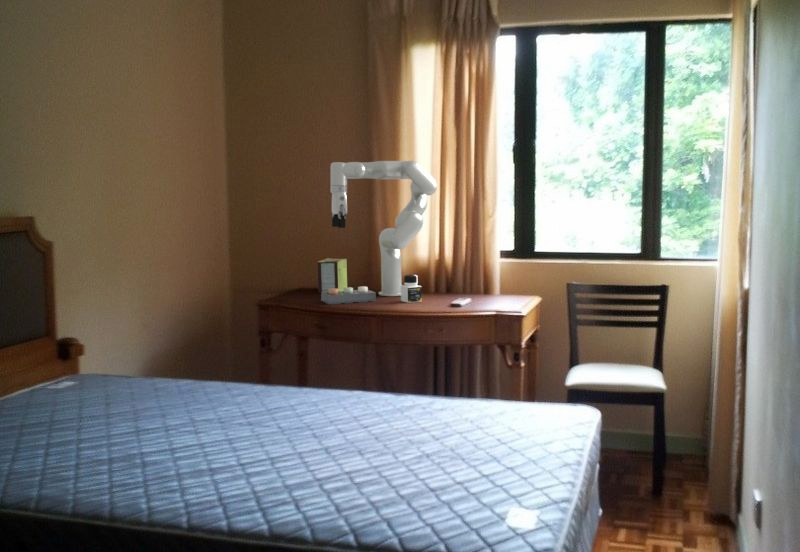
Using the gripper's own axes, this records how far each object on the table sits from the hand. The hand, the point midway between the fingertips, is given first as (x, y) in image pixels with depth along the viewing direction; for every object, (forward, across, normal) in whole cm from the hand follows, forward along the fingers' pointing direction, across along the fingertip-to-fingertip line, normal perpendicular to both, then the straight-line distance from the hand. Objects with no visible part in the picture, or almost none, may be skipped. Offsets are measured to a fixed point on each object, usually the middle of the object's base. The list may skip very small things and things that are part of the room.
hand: (338, 227), depth 396 cm
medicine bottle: (+33, -21, -28) cm, 48 cm away
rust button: (+31, -8, +5) cm, 32 cm away
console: (+33, -8, -2) cm, 34 cm away
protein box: (+33, +28, -6) cm, 44 cm away
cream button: (+30, -8, -9) cm, 32 cm away
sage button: (+30, -8, -2) cm, 31 cm away
